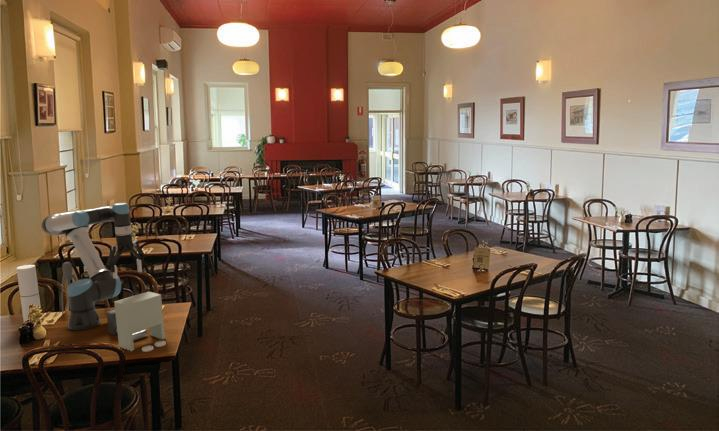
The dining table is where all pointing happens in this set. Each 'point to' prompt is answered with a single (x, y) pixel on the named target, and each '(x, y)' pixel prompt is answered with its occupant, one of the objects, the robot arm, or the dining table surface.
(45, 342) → the dining table surface
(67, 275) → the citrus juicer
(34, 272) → the container
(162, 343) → the coaster
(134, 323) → the cabinet
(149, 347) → the coaster
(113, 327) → the scraper
